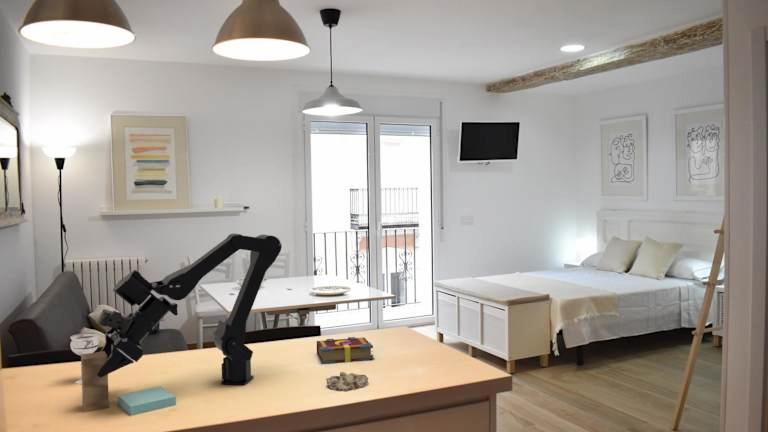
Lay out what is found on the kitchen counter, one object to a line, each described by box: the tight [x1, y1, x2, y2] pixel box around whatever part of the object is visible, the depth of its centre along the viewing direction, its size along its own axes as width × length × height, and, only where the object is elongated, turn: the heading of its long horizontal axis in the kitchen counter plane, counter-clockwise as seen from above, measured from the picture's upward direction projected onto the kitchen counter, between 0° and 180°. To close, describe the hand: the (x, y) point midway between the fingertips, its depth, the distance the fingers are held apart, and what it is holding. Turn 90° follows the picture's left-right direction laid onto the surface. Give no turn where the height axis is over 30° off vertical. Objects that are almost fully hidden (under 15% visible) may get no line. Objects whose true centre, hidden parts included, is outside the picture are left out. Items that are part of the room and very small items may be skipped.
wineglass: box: [69, 332, 100, 385], centre depth 158 cm, size 7×7×12 cm
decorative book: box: [316, 336, 374, 365], centre depth 177 cm, size 11×16×5 cm
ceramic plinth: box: [117, 385, 177, 417], centre depth 140 cm, size 10×10×2 cm
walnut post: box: [80, 351, 110, 413], centre depth 139 cm, size 5×5×12 cm
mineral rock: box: [325, 371, 369, 392], centre depth 151 cm, size 11×4×8 cm
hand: (96, 371), depth 139 cm, fingers open, 9 cm apart
